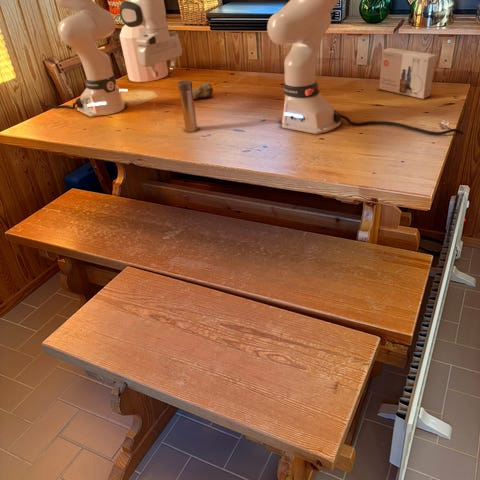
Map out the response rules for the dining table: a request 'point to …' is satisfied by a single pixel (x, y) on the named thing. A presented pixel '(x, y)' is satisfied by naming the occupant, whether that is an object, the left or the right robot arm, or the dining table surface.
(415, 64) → the skincare box
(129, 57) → the container
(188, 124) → the brown cylinder
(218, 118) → the dining table surface
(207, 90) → the rock
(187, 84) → the lid
